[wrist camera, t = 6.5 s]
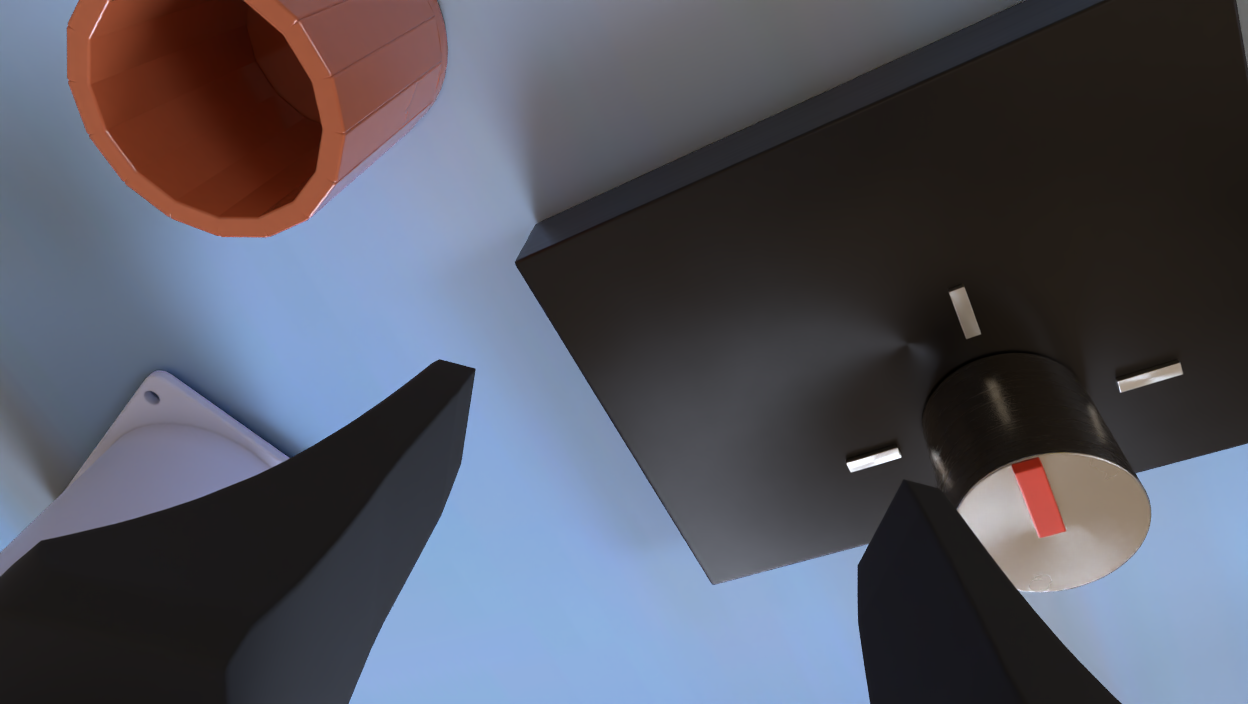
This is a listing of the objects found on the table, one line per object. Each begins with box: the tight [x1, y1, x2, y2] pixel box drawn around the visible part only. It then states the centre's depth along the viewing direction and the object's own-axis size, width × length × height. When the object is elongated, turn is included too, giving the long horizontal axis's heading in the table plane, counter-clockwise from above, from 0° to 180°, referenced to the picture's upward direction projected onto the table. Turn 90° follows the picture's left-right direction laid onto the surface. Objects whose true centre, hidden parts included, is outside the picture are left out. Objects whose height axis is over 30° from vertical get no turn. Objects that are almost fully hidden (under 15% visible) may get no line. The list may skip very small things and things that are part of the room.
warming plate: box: [515, 0, 1248, 585], centre depth 22 cm, size 16×13×3 cm
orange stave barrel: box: [67, 0, 448, 237], centre depth 19 cm, size 5×5×6 cm
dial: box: [922, 353, 1151, 592], centre depth 20 cm, size 4×4×4 cm
